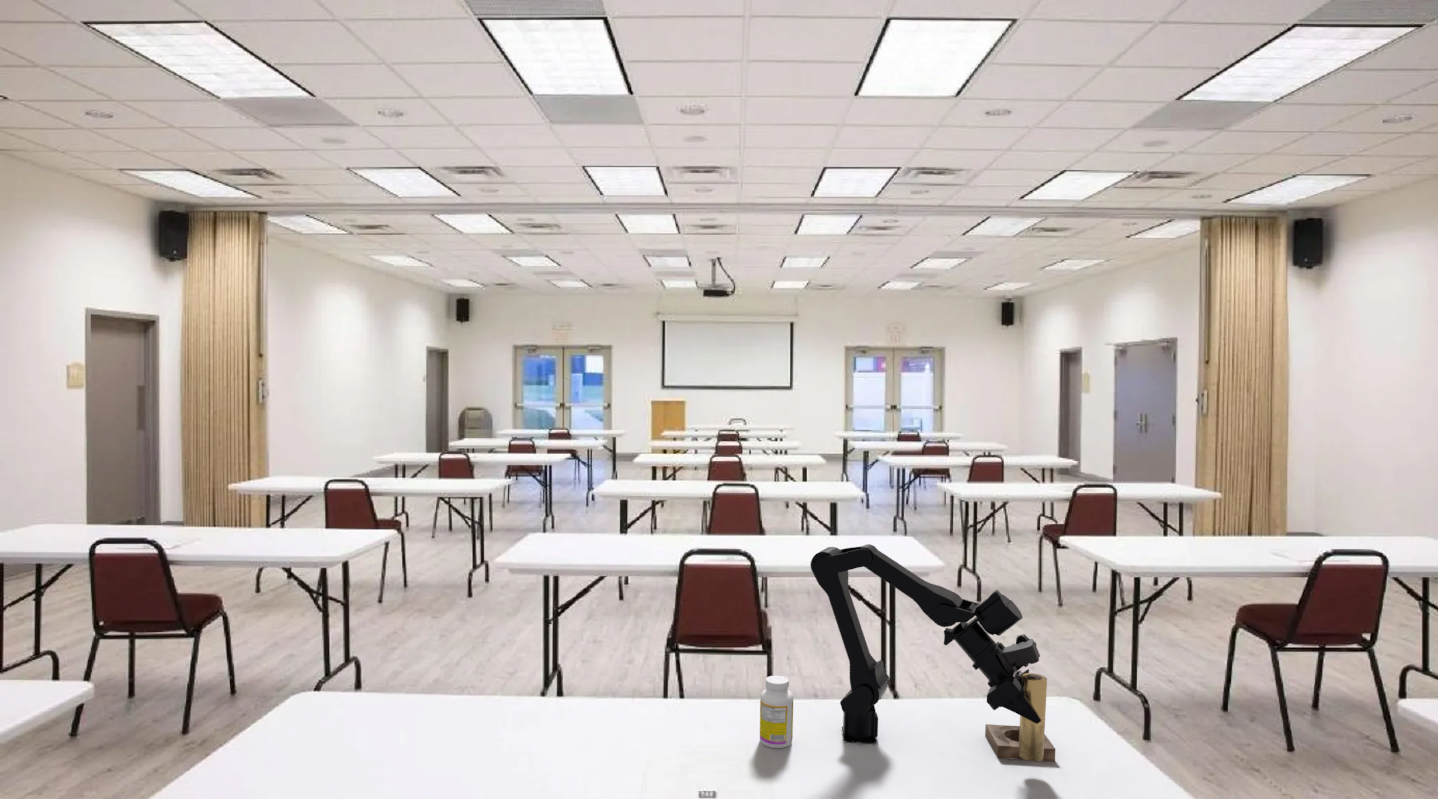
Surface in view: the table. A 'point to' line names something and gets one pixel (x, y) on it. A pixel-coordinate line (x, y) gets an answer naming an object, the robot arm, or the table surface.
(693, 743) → the table surface
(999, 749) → the jig plate
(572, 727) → the table surface
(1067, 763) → the table surface
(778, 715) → the supplement bottle
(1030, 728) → the bronze sleeve
